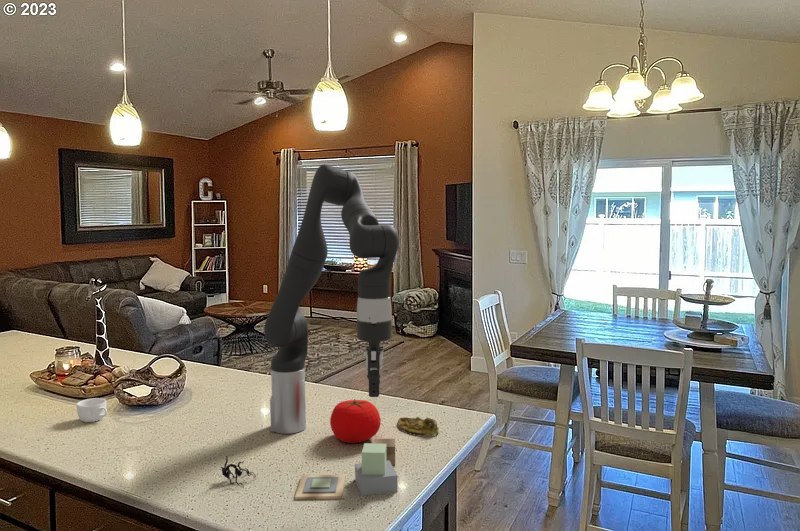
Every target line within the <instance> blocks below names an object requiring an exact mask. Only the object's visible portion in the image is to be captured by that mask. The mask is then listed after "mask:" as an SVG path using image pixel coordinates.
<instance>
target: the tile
mask: <svg viewBox="0 0 800 531" xmlns="http://www.w3.org/2000/svg"><path fill="white" fill-rule="evenodd" d="M345 482H346V474H324V475H322V474H318V475H316V474H314V475H313V474H312V475H310V474H309V475H301V477H300V479H299V483H298V485H297V488H296V492H295V495H294V500H343V497H344V495H343V494H344V489H345Z"/></svg>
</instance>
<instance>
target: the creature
mask: <svg viewBox="0 0 800 531" xmlns="http://www.w3.org/2000/svg"><path fill="white" fill-rule="evenodd" d="M225 457H226V458H225V460H226V461H225V463H224V467H223V466H220V469H221V475H223V476H224V478H227V479H228V480H229V483H230V485H234V482H232V479H231V477H230V475H232V478H234V479H235V484H236V485H237V486H239V487H241V488H243V487H245V485H244V484H243V483H241V482H238V477H241V478H244V477H246V476H249V477H250V476H253V477H254V479H256V477H257V476H256V474H255V473H254V472H251V471H249V469H248V468H242V467H241V466H240V465H241V464H243V463H244V462H245V460H243V461H239V462H237V465H236V464H233V463H230V464H228V462H229V461H228V456H227V455H225ZM227 464H228V465H227ZM230 467H231V468H233V469H234V473H233V472H232V471H231V469H230ZM243 472H245V473H246V475H243V476H242V474H243ZM240 484H241V485H240Z"/></svg>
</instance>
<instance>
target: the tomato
mask: <svg viewBox="0 0 800 531" xmlns="http://www.w3.org/2000/svg"><path fill="white" fill-rule="evenodd" d="M381 419H382V418H381V416H380V413H379V410H378V409H377V407H376V406H375V405H374V404H373V403H372V402H370V401H368V400H365V399H355V398H354V399H350V400H344V401H340V402H339V403H337V404H336V405H335V406H334V408H333V409H332V412H331V415H330V418H329V422H330V423H329V424H330V429H331V431H332V432H333V434H334V436H335V438H337V439H338V440H339V441H341V442H344V443H350V444H352V443H353V444H355V443H362V442H365V441H368V440H370V439H372V438H373V437H374V436H375V435H377V433H378V432H379V430H380V427H381V424H382V422H381Z"/></svg>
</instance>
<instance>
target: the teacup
mask: <svg viewBox="0 0 800 531" xmlns="http://www.w3.org/2000/svg"><path fill="white" fill-rule="evenodd" d="M76 410H77V411H76V412H77V416H78V418H79V420H81V421H82V422H84V423H87V422H91V423H96V422H98V420H99V421H100V419H101V420H102V419H103V418H104V417H106V416H107V415H108V410H107V399H105V398H101V397H100V398H99V397H95V398H94V397H93V398H92V397H91V398H87V399H83V400H79V401H78V402H76ZM95 421H96V422H95Z"/></svg>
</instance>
